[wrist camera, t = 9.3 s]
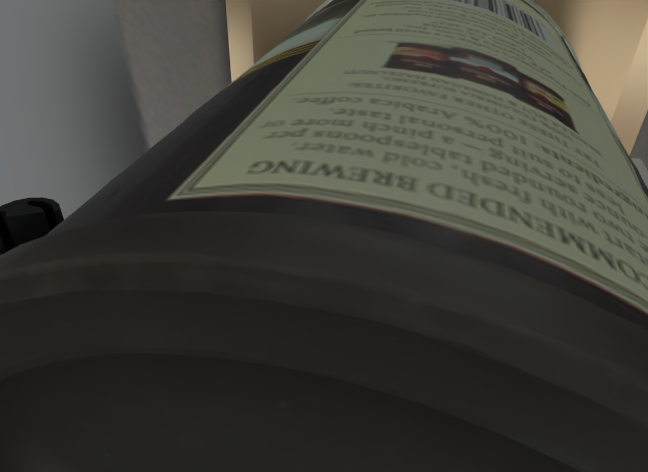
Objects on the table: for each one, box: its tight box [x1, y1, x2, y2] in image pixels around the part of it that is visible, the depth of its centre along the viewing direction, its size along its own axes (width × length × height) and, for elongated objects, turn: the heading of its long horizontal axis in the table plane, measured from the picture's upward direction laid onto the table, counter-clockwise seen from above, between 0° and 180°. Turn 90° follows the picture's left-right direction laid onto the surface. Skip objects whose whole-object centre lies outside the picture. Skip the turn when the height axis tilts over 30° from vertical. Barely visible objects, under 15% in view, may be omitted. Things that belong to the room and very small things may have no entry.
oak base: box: [226, 0, 648, 156], centre depth 20 cm, size 14×14×5 cm
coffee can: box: [0, 0, 648, 472], centre depth 11 cm, size 10×10×14 cm
